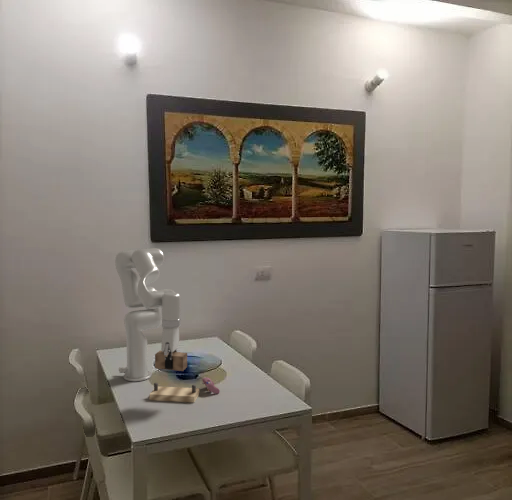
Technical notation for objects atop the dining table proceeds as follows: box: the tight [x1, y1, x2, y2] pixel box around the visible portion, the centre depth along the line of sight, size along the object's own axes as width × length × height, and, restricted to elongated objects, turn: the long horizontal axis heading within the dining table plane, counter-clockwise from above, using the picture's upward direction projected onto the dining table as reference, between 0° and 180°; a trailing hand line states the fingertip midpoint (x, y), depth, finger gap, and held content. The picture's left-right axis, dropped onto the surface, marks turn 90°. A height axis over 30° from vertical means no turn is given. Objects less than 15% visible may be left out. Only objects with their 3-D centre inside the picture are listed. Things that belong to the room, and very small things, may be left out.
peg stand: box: [149, 382, 200, 403], centre depth 202 cm, size 19×9×6 cm, turn 84°
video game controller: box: [201, 376, 220, 395], centre depth 209 cm, size 10×5×7 cm, turn 21°
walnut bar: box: [154, 350, 188, 372], centre depth 197 cm, size 12×5×6 cm, turn 78°
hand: (171, 365), depth 197 cm, fingers closed on walnut bar, 5 cm apart
